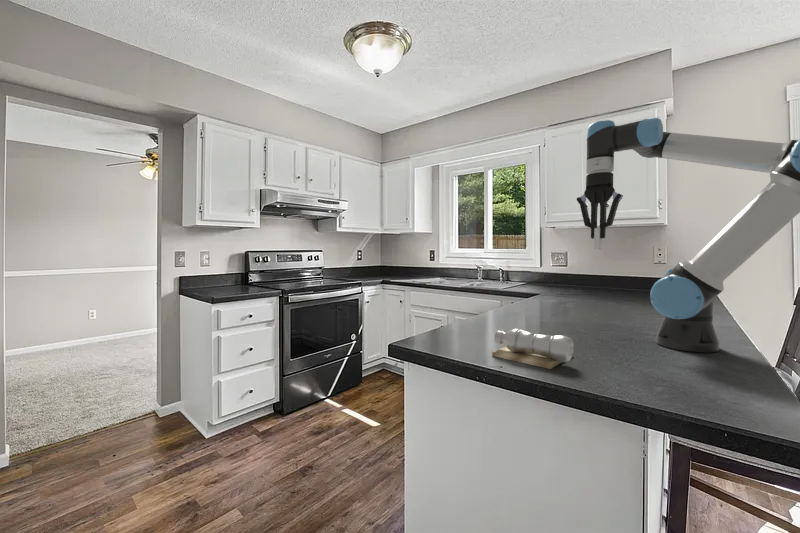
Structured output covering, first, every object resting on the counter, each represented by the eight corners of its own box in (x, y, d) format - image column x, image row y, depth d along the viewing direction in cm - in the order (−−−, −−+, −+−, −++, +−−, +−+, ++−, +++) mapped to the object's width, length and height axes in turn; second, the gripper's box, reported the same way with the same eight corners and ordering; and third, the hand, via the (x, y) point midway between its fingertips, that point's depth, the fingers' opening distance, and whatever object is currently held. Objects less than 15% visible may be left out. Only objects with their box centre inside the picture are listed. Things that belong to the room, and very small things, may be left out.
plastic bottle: (573, 331, 92) (499, 320, 105) (566, 352, 88) (489, 338, 101) (577, 348, 95) (505, 335, 108) (570, 369, 92) (496, 353, 105)
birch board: (572, 356, 102) (572, 351, 101) (550, 369, 91) (550, 364, 91) (517, 345, 113) (517, 341, 113) (492, 355, 102) (492, 351, 102)
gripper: (573, 174, 117) (572, 249, 119) (620, 168, 109) (618, 249, 110) (581, 177, 123) (579, 249, 124) (626, 172, 114) (624, 249, 115)
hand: (597, 249), depth 117 cm, fingers closed
